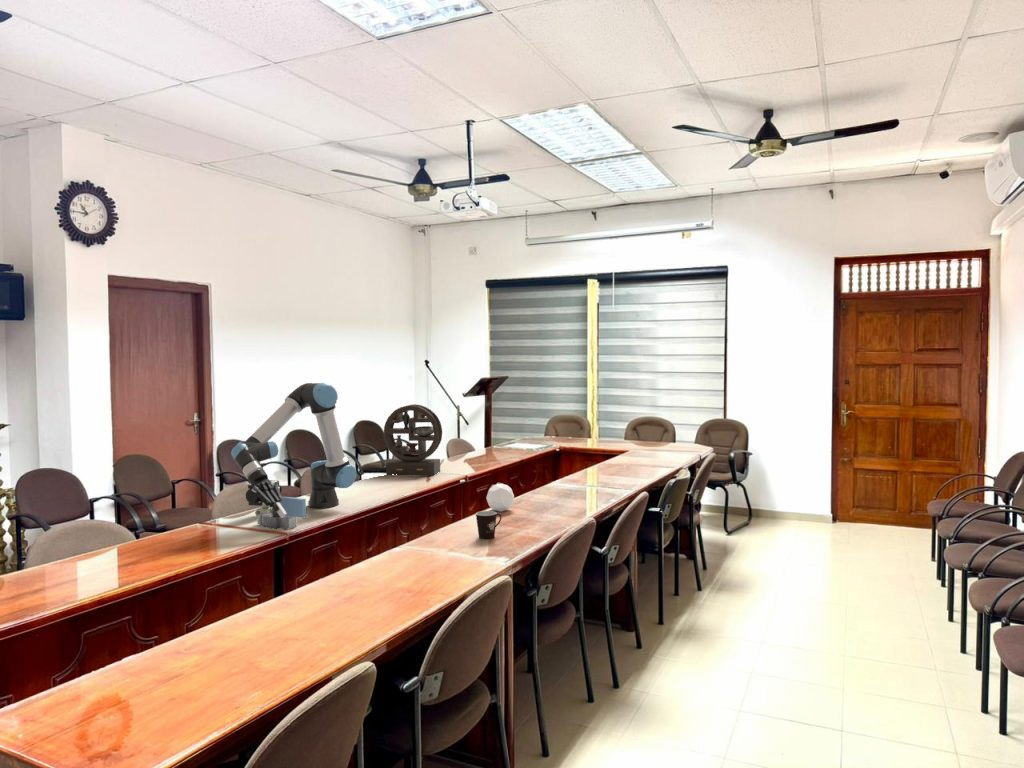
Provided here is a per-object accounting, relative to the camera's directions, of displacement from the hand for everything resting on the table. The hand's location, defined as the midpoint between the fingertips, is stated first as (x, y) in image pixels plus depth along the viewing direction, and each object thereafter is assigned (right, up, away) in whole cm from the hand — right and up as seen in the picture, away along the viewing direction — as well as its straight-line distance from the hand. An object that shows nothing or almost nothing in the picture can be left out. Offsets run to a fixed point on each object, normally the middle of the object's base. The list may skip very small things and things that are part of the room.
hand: (284, 515), depth 286 cm
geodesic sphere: (+91, -6, +42) cm, 100 cm away
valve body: (-9, -8, +18) cm, 22 cm away
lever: (-3, -3, +14) cm, 15 cm away
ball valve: (-22, -8, +39) cm, 45 cm away
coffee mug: (+88, -8, -7) cm, 88 cm away
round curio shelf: (+32, -3, +154) cm, 157 cm away
